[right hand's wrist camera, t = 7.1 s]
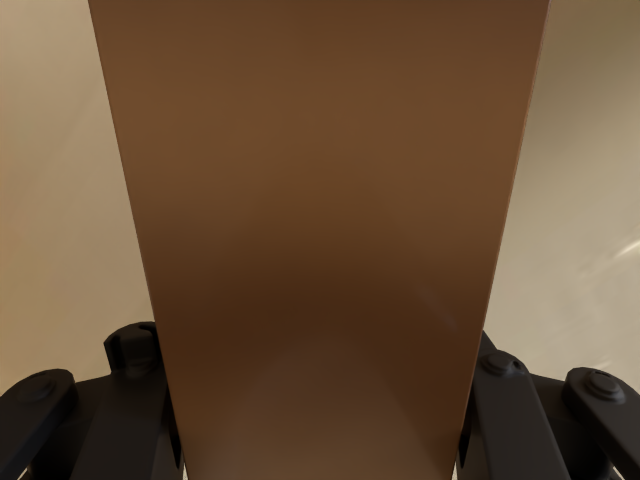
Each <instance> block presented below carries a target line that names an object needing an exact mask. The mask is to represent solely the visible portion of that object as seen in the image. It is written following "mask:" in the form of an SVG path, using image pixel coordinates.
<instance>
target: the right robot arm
mask: <svg viewBox="0 0 640 480" xmlns="http://www.w3.org/2000/svg"><path fill="white" fill-rule="evenodd" d="M104 347H105V351H106V354H107V358H108V361H109V365H110V368H111V374H110V375H107V376H103V377H99V378H95V379H90V380H86V381H81V382H77V383H75V380H74V378H73V375H72V373H70V372H69V371H68V370H64V369H51V370H45V371H42V372H39V373H35V374H33V375H30V376H29V377H27V378H25V379H23V380H21V381H19V382H18V383H16V384H15V385H14V386H12V387H11V388H10V389H8V390H7V391H6V392H5V393H4V394H3V395H2V396H1V397H0V480H17V479H18V478H19V476H20V475H21V474H22V472H23V471H24V470H25V469H26V468H27V471H26V472H25V474H24V475H23V476H22V477H21V478H20V479H19V480H183V471H184V458H183V453H182V449H181V444H180V439H179V434H178V429H177V425H176V420H175V415H174V410H173V405H172V401H171V396H170V391H169V386H168V382H167V377H166V372H165V367H164V362H163V358H162V353H161V348H160V343H159V338H158V334H157V329H156V324H155V322H152V321H150V322H138V323H134V324H130V325H127V326H125V327H122V328H120V329H118V330H116V331H115V332H114V333H112V334H111V335H109V336H108V338H107V339H106V340H105V341H104ZM614 466H615V468H616V469H617V470H618V471H619V473H620V474H621V475H622V477H623V478H624V479H625V480H640V395H639V394H638V393H637V392H636V391H635V390H634V389H633V388H631V387H630V386H629V385H627V384H626V383H625V382H623V381H622V380H620V379H618V378H617V377H615V376H613V375H611V374H609V373H606V372H604V371H601V370H597V369H593V368H586V367H579V368H573V369H572V370H570V371H569V372H568V374H567V377H566V380H565V381H561V380H556V379H552V378H547V377H542V376H538V375H535V374H531V373H529V371H528V369H527V368H526V366H525V365H524V363H522V362H521V361H520V360H519V359H517V358H516V357H515V356H513V355H511V354H509V353H507V352H505V351H501V350H497V349H496V347H495V346H494V344H493V343H492V342H491V340H490V339H489V337H488V336H487V335H486V333H485V332H484V330H483V332H482V336H481V341H480V346H479V351H478V356H477V360H476V365H475V370H474V375H473V380H472V384H471V389H470V394H469V399H468V404H467V408H466V413H465V418H464V423H463V428H462V432H461V437H460V442H459V447H458V452H457V456H456V470H457V480H622V479H621V478H620V477H619V476H618V474H617V473H616V472H615V471H614V469H613V467H614Z"/></svg>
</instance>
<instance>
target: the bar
mask: <svg viewBox="0 0 640 480" xmlns="http://www.w3.org/2000/svg"><path fill="white" fill-rule="evenodd" d="M551 1H552V0H88V3H89V8H90V13H91V18H92V22H93V27H94V32H95V37H96V42H97V46H98V51H99V56H100V61H101V66H102V70H103V75H104V80H105V85H106V89H107V94H108V99H109V104H110V109H111V113H112V118H113V123H114V128H115V133H116V137H117V142H118V147H119V152H120V156H121V161H122V166H123V171H124V176H125V180H126V185H127V190H128V195H129V200H130V204H131V209H132V214H133V219H134V224H135V228H136V233H137V238H138V243H139V247H140V252H141V257H142V262H143V267H144V271H145V276H146V281H147V286H148V291H149V295H150V300H151V305H152V310H153V314H154V319H155V324H156V329H157V334H158V338H159V343H160V348H161V353H162V358H163V362H164V367H165V372H166V377H167V382H168V386H169V391H170V396H171V401H172V405H173V410H174V415H175V420H176V425H177V429H178V434H179V439H180V444H181V449H182V453H183V458H184V463H185V468H186V472H187V477H188V480H452V475H453V471H454V466H455V461H456V456H457V452H458V447H459V442H460V437H461V432H462V428H463V423H464V418H465V413H466V408H467V404H468V399H469V394H470V389H471V384H472V380H473V375H474V370H475V365H476V360H477V356H478V351H479V346H480V341H481V336H482V332H483V327H484V322H485V317H486V312H487V308H488V303H489V298H490V293H491V289H492V284H493V279H494V274H495V269H496V265H497V260H498V255H499V250H500V245H501V241H502V236H503V231H504V226H505V221H506V217H507V212H508V207H509V202H510V197H511V193H512V188H513V183H514V178H515V173H516V169H517V164H518V159H519V154H520V149H521V145H522V140H523V135H524V130H525V126H526V121H527V116H528V111H529V106H530V102H531V97H532V92H533V87H534V82H535V78H536V73H537V68H538V63H539V58H540V54H541V49H542V44H543V39H544V34H545V30H546V25H547V20H548V15H549V10H550V6H551Z"/></svg>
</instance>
